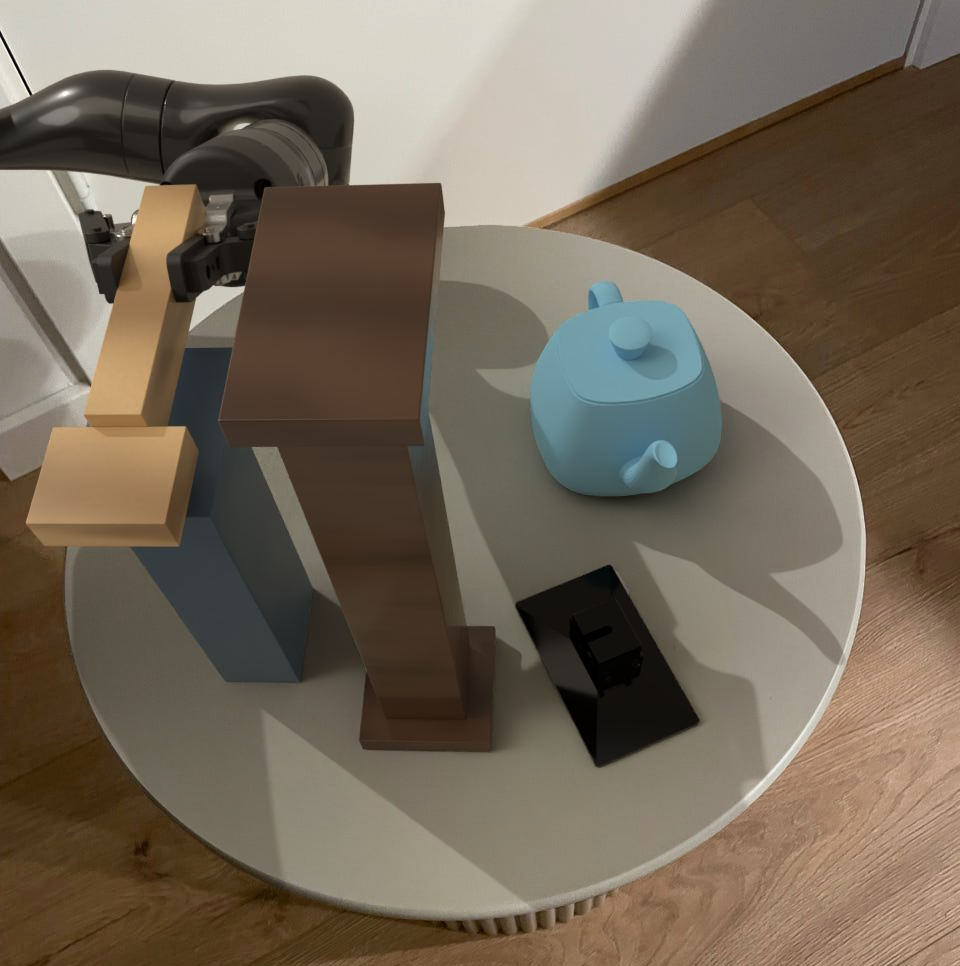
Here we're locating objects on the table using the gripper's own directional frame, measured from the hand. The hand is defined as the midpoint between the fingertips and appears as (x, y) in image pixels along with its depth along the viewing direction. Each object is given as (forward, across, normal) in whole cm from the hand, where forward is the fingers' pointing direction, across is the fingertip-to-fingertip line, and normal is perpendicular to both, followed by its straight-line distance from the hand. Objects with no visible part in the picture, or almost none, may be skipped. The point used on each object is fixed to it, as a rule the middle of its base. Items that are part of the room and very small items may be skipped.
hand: (142, 280), depth 47 cm
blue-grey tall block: (-9, 0, -25) cm, 26 cm away
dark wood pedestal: (-7, -11, -26) cm, 29 cm away
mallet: (+1, 0, -4) cm, 4 cm away
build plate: (-7, -22, -26) cm, 35 cm away
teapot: (-21, -24, -18) cm, 36 cm away
